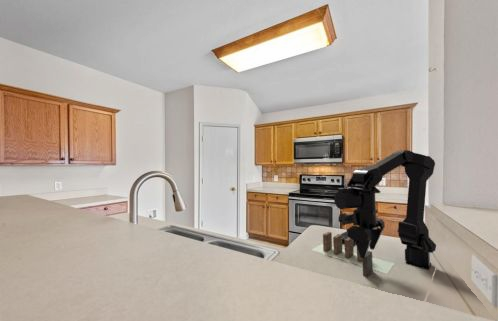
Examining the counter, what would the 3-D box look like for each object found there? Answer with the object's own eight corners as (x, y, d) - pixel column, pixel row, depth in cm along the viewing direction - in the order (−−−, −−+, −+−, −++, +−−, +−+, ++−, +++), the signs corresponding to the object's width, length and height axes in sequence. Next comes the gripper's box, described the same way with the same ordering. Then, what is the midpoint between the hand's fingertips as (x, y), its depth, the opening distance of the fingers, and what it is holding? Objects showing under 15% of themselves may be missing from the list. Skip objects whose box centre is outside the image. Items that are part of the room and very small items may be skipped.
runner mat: (394, 264, 76) (394, 263, 76) (387, 275, 69) (387, 273, 69) (322, 244, 96) (322, 243, 96) (311, 250, 89) (311, 249, 89)
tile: (372, 272, 71) (372, 252, 71) (367, 278, 67) (367, 256, 67) (368, 271, 72) (367, 250, 72) (363, 276, 68) (362, 255, 68)
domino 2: (342, 251, 87) (341, 234, 87) (337, 255, 84) (336, 237, 84) (339, 250, 88) (338, 234, 88) (333, 254, 85) (333, 236, 85)
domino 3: (353, 254, 84) (353, 237, 84) (348, 258, 80) (348, 240, 80) (350, 253, 85) (349, 236, 85) (345, 257, 81) (344, 239, 81)
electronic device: (356, 251, 92) (365, 237, 103) (353, 238, 92) (363, 226, 103) (335, 248, 99) (346, 235, 109) (332, 237, 99) (344, 225, 109)
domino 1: (332, 248, 90) (331, 232, 90) (326, 252, 87) (326, 235, 87) (328, 247, 91) (328, 231, 91) (323, 251, 88) (322, 234, 88)
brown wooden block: (365, 258, 80) (365, 240, 81) (361, 262, 77) (360, 243, 77) (362, 257, 81) (361, 239, 82) (357, 261, 78) (356, 242, 78)
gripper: (351, 200, 82) (353, 240, 82) (329, 208, 69) (331, 255, 69) (384, 203, 74) (386, 247, 74) (366, 213, 61) (368, 266, 61)
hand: (367, 253), depth 70 cm, fingers open, 9 cm apart
